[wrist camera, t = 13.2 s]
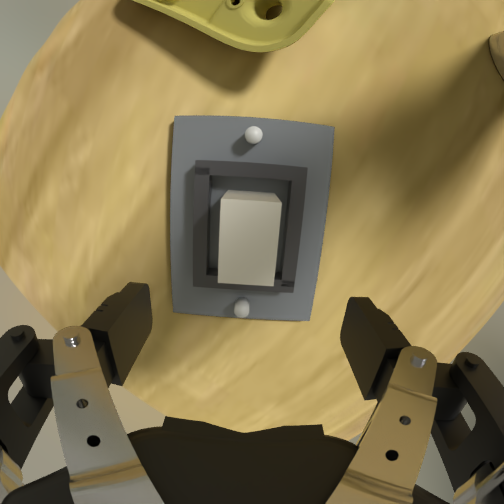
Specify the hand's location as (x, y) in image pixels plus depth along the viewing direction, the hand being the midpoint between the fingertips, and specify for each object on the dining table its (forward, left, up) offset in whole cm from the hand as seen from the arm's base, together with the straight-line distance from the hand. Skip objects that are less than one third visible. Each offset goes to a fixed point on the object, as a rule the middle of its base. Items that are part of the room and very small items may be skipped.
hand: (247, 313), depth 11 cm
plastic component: (+4, -23, -16) cm, 29 cm away
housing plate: (0, 0, -16) cm, 16 cm away
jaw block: (0, 0, -15) cm, 15 cm away
